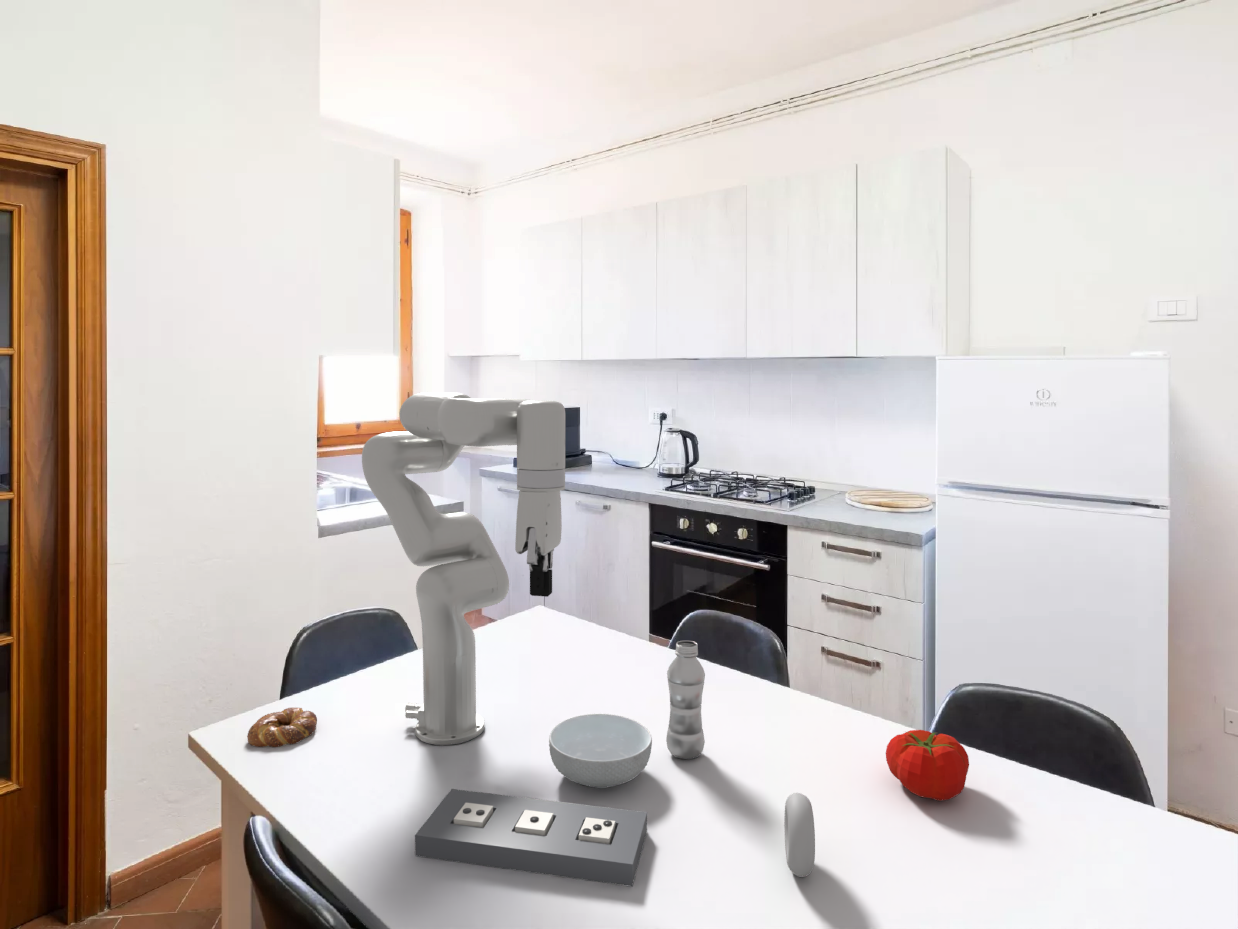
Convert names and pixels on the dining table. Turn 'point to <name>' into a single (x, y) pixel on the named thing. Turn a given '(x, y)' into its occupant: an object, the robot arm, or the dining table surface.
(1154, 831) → the dining table surface
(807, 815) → the donut
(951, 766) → the tomato
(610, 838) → the button three dots
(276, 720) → the pretzel
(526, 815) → the button one dot
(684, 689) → the plastic bottle
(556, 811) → the button panel
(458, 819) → the button two dots
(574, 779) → the cereal bowl
